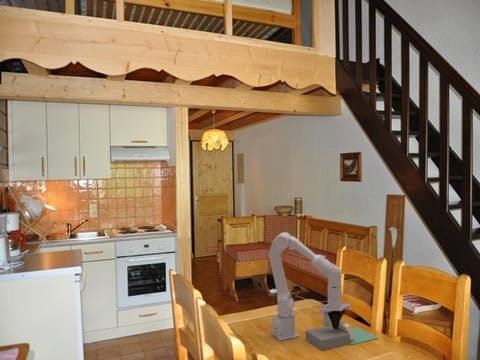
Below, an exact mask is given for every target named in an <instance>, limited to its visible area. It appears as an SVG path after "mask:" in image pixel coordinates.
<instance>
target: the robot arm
mask: <svg viewBox="0 0 480 360" xmlns="http://www.w3.org/2000/svg"><path fill="white" fill-rule="evenodd" d="M287 248H288V250H289V251H291V250H293V251H297V252H298V253H299V254H301V255H303V257H305V258H306V259H308V260H309V261H310V262H311V265H312V267H314V268H315V269H316V270H318V272H320V273H321V274H323V275H324V276H326V278H327V304H328V305H327V304H326V305H327V306H325V305H324V306H325V307H319V308H318V312H319V314H321V315H323V314H324V313H327V314H328V316H329V318H330V320H331V323H332V327H333V328H334V329H338V327H339V323H340V320H341V321H342V318H343V316H344V310H351V304H349V303H347V302H345V303H343V293H342V291H343V289H342V288H343V287H342V270H341V268H340V267H339V266H338V265H335V263H334V262H333V263H331V262H330V261H329V260H328V259H326V256H325V255H324V254H323V255H321V254H315V253H314V252H313V251H312V250H311V249H309V248H308V247H307V246H306V245H305V244H303V242H301V241H300V240H299V239H298V238H296V237H295V236H293V235H291V234H290V233H289V232H287V231H282V232H281V233H279V235H277V236H276V237H275V238H274V239H273V240H272V242H271V246H270V248H269V252H268V258H269V261H270V266H271V271H272V276H273V280H274V285H275V289H276V292H277V296H276V297H277V307H276V310H277V315H275V316H273V317H272V319H271V335H272V336H273V337H274V338H276V339H277V340H279V341H285V340H290V339H294V338H298V337H299V336H300V335H299V334H297V333H296V330H295V328H296V327H295V326H296V323H295V322H296V321H295V320H296V319H295V312H294V310H293V309H294V308H295V305H296V303H295V300H294V298H293V297H292V294H291V292H290V291H289V287H288V284H287V283H288V282H287V279H286V274H285V270H284V266H283V265H284V264H283V261H282V257H281V255H282V254H283V252H284V250H286V249H287Z"/></svg>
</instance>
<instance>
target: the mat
mask: <svg viewBox="0 0 480 360" xmlns="http://www.w3.org/2000/svg"><path fill="white" fill-rule="evenodd" d="M351 329H352V332H353V335H354V339H352V340H350V344H349V345H351V346H353V345H357V344H361V343H367V342H370V341H375V340H378V339H379V337H377V336H375V335H373V334H372V333H369V332H367V331H365V330H363V329H362V328H360V327H357V326H356V327H351Z"/></svg>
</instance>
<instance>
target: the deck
mask: <svg viewBox="0 0 480 360" xmlns="http://www.w3.org/2000/svg"><path fill="white" fill-rule="evenodd" d="M305 340H306V341H307V342H309V343H310V344H312V346H314V347H315V348H317V349H319V350H320V351H322V352H323V351H326V350H331V349H335V348H339V347H343V346H347V345H351V344H350V334H349V333H347V332H345V331H343V330H341V329H340V328H338V329H334V328H333V327H332V325H329V326H328V325H324V326H320V327H316V328H311V329H306V330H305Z"/></svg>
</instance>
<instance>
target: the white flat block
mask: <svg viewBox="0 0 480 360" xmlns="http://www.w3.org/2000/svg"><path fill="white" fill-rule="evenodd" d="M351 326H352V325H351V324H350V323H347V322H345V321H344V320H342V319H341V320H340V323H339V327H338V328H340V329H341V330H343V331H345V332H347V333H349V334H350V340H352V339H354V335H353V332H352V329H351V328H352V327H351Z"/></svg>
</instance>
